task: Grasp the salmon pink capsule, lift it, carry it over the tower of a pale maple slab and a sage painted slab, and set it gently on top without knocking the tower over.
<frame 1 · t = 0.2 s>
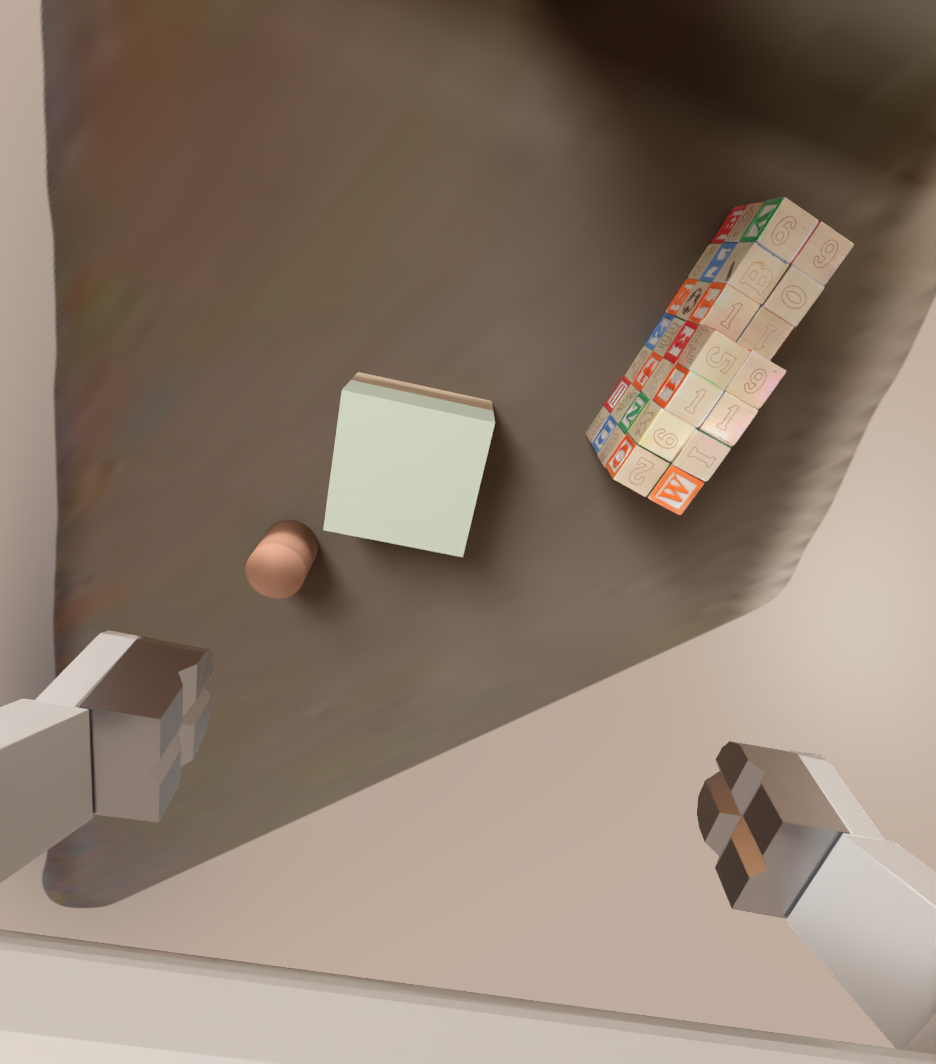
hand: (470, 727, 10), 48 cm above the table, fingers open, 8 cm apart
maple slab: (413, 449, 58), on the table
salmon pink capsule: (291, 544, 61), on the table
stack of blocks: (681, 345, 54), on the table
sage slab: (410, 463, 54), point 4 cm above the table
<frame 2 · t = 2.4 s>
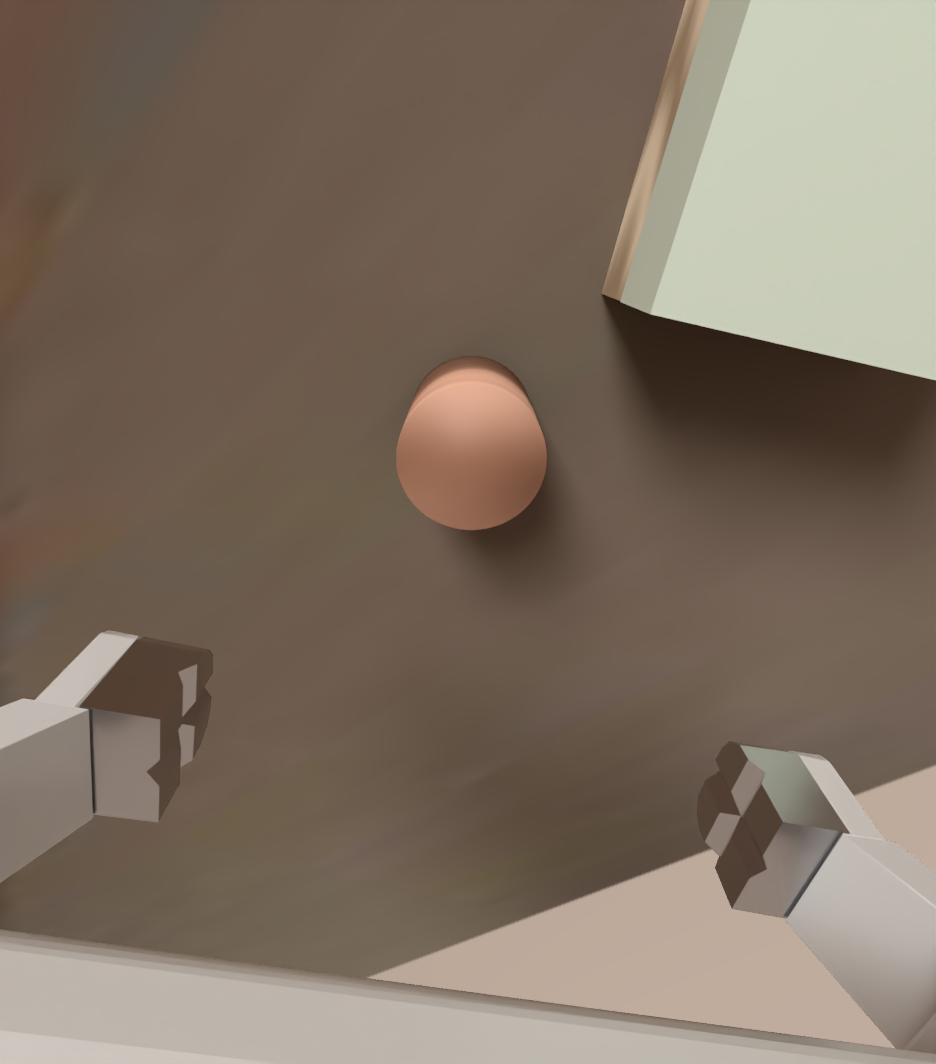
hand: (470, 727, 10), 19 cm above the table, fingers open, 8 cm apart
maple slab: (801, 161, 23), on the table, touching sage slab
salmon pink capsule: (471, 417, 27), on the table
sage slab: (861, 146, 20), point 4 cm above the table, touching maple slab
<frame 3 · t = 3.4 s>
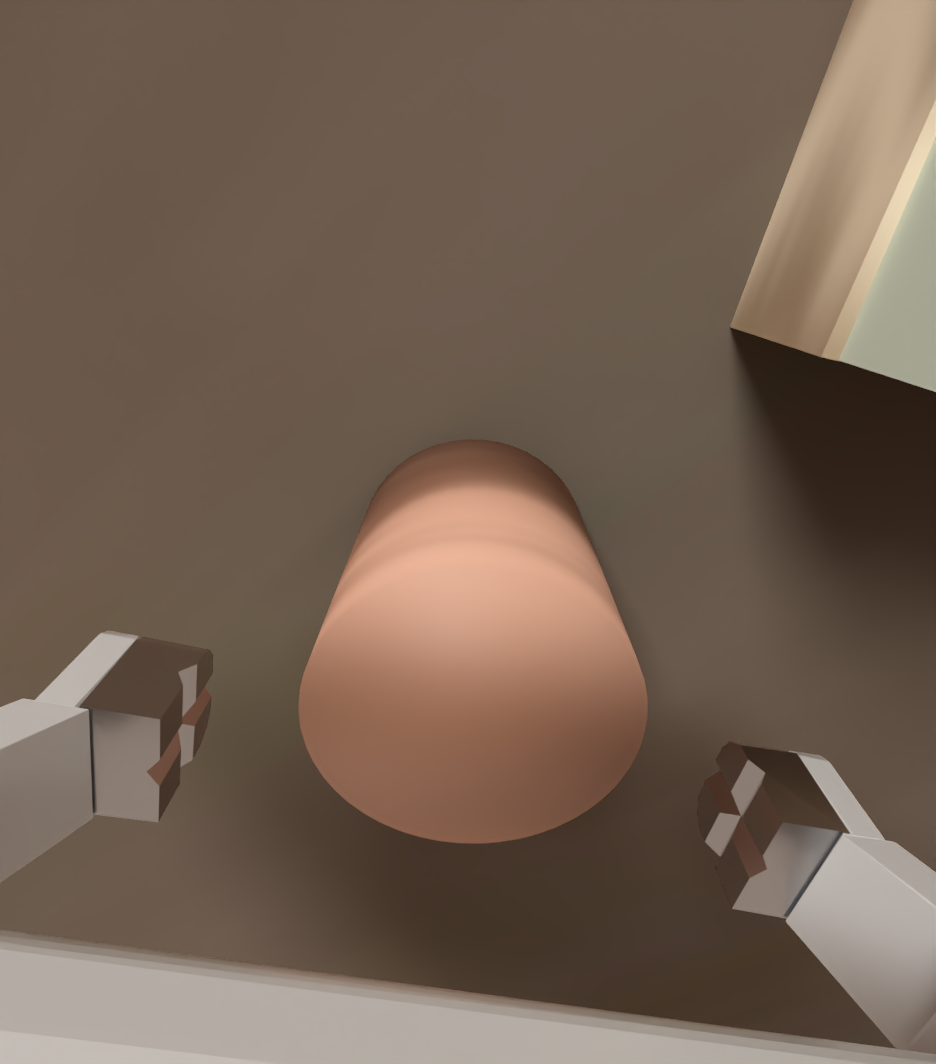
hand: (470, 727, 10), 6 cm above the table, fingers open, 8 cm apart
salmon pink capsule: (472, 545, 15), on the table
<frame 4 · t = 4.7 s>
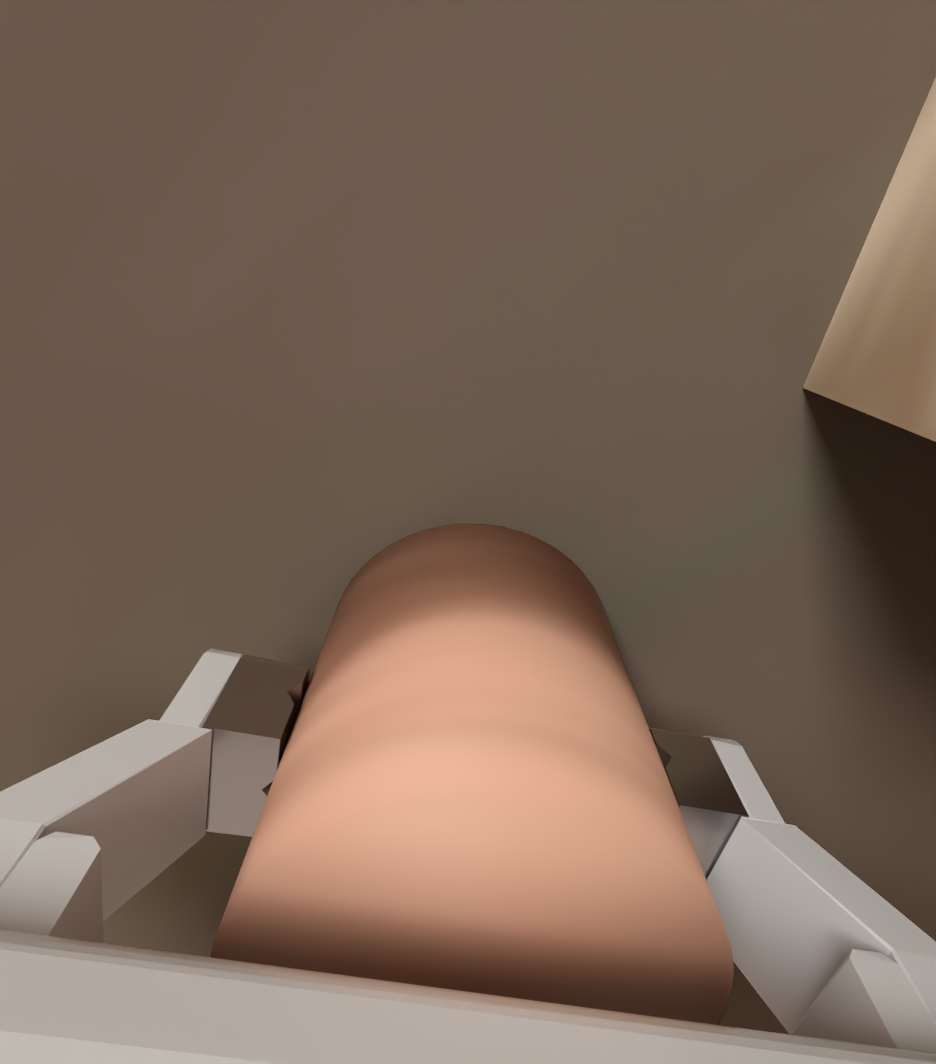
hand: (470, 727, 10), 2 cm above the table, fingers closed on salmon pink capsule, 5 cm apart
salmon pink capsule: (470, 650, 12), on the table, touching gripper
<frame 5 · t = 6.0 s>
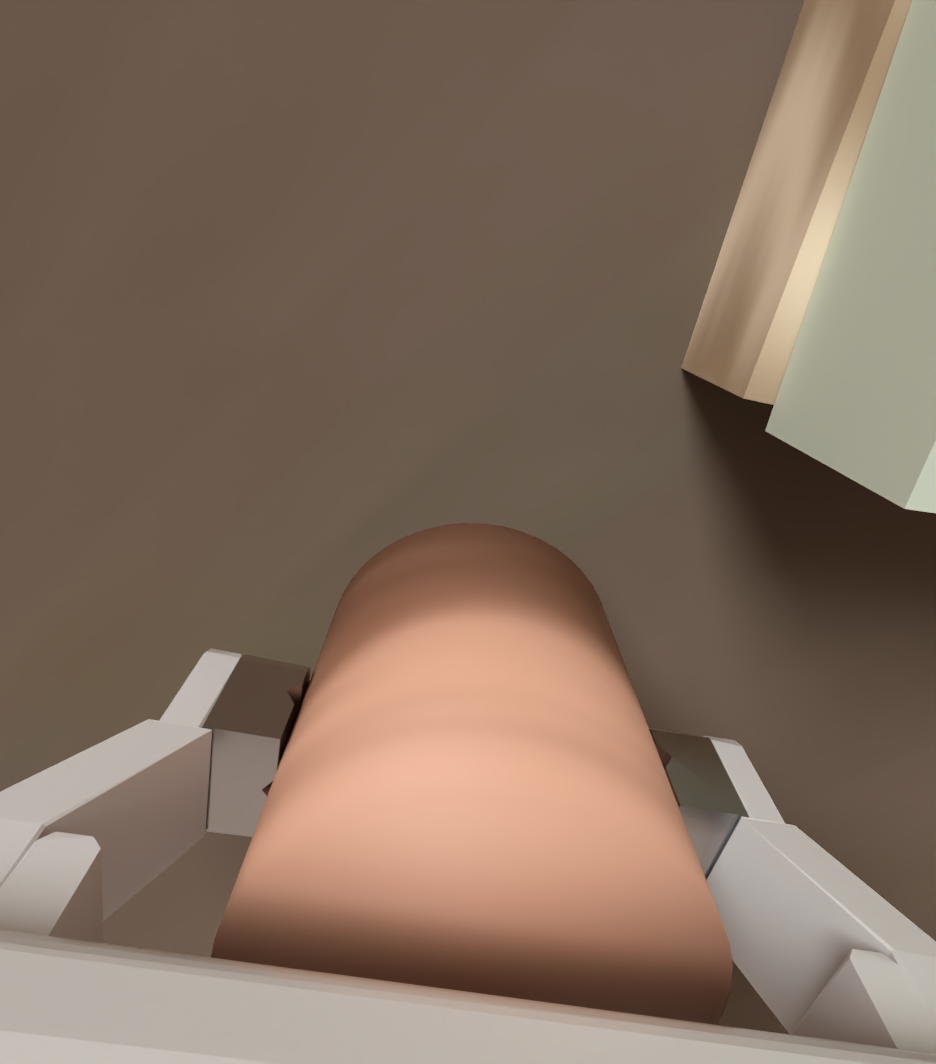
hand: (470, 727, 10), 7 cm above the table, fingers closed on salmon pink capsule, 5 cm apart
salmon pink capsule: (470, 649, 12), point 5 cm above the table, touching gripper
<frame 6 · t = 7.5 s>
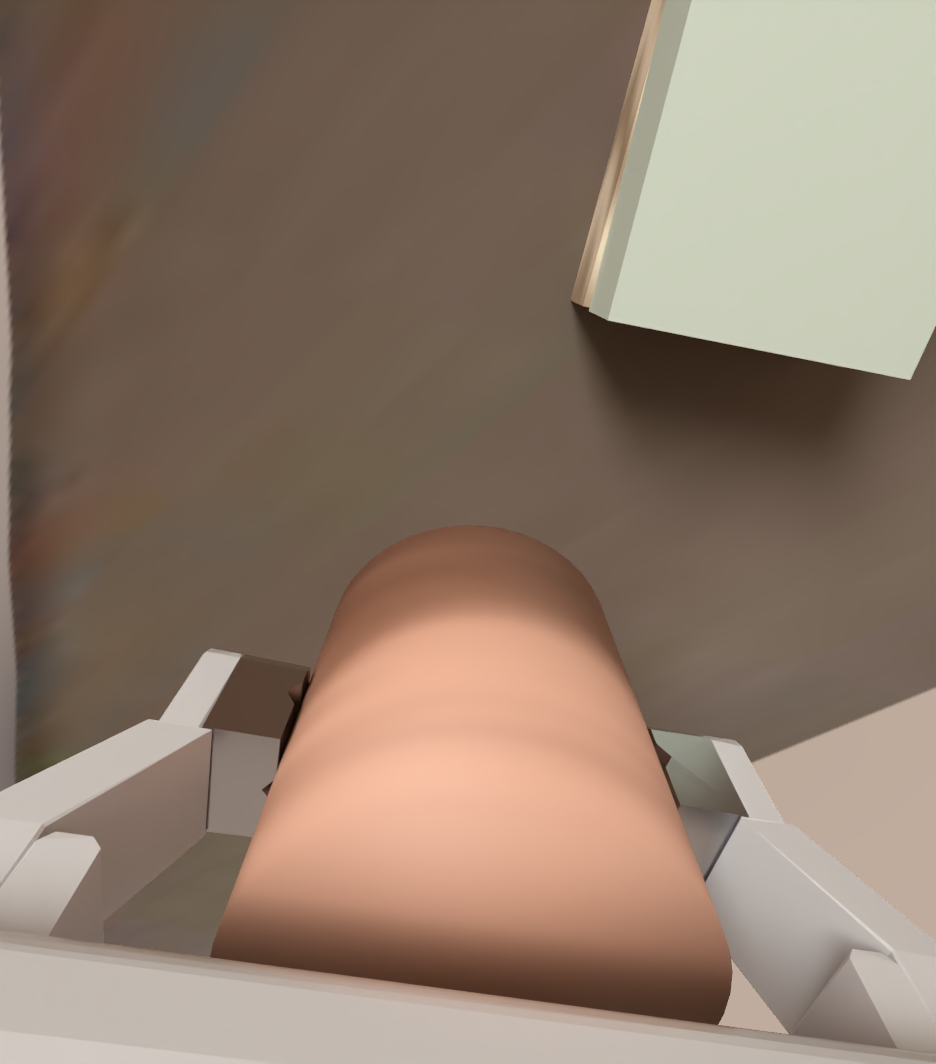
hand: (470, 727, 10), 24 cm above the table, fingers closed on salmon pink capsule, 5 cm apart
maple slab: (732, 192, 28), on the table, touching sage slab
salmon pink capsule: (469, 651, 12), point 22 cm above the table, touching gripper
sage slab: (774, 182, 25), point 3 cm above the table, touching maple slab
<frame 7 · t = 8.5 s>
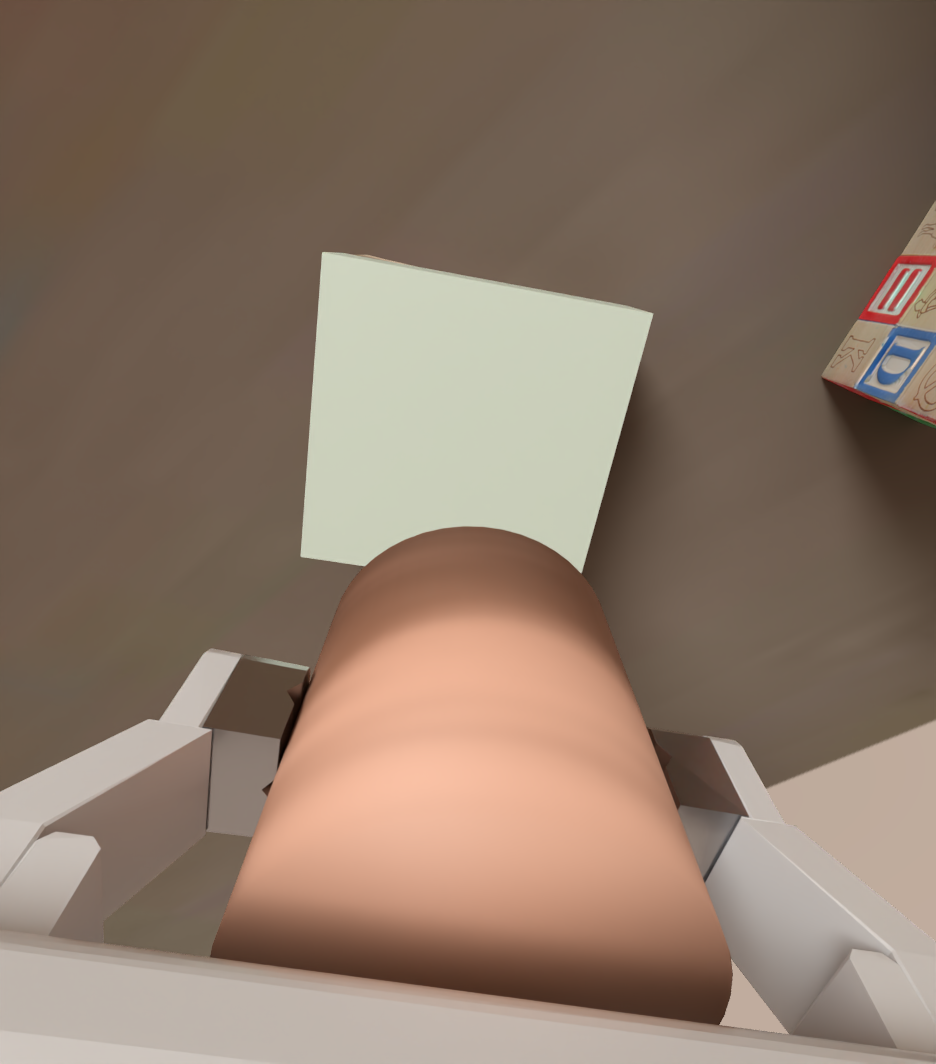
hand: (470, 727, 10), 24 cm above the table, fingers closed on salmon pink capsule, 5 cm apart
salmon pink capsule: (469, 652, 12), point 22 cm above the table, touching gripper
sage slab: (463, 420, 28), point 4 cm above the table, touching maple slab
when the fingers open (12 cm above the table, at t = 11.5 s): salmon pink capsule drops 2 cm, resting on sage slab.
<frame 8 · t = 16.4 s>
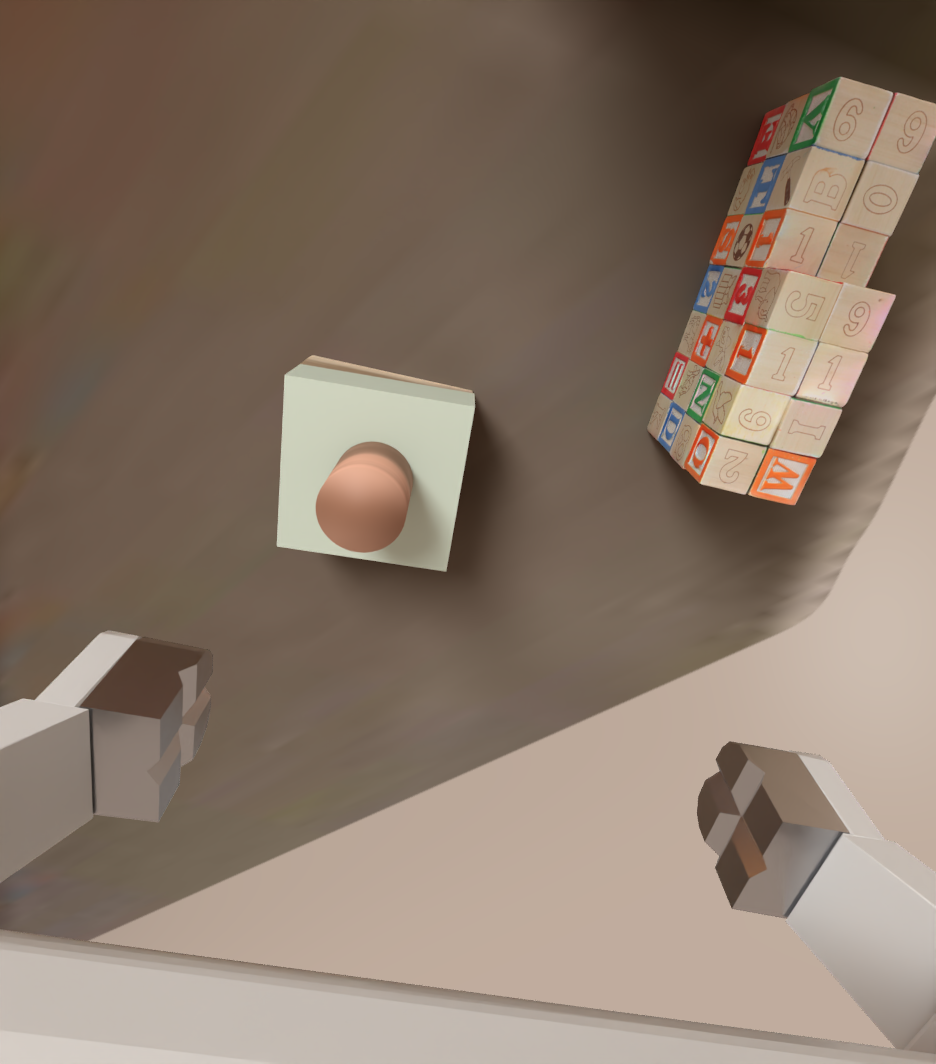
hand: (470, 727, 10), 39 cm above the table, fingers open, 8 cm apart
maple slab: (381, 447, 49), on the table, touching sage slab
salmon pink capsule: (374, 479, 41), point 8 cm above the table, touching sage slab
stack of blocks: (738, 297, 44), on the table
sage slab: (378, 461, 45), point 4 cm above the table, touching maple slab, salmon pink capsule
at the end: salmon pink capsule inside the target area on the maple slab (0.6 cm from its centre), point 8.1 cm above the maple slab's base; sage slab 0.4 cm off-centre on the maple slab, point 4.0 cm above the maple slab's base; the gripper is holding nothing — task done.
